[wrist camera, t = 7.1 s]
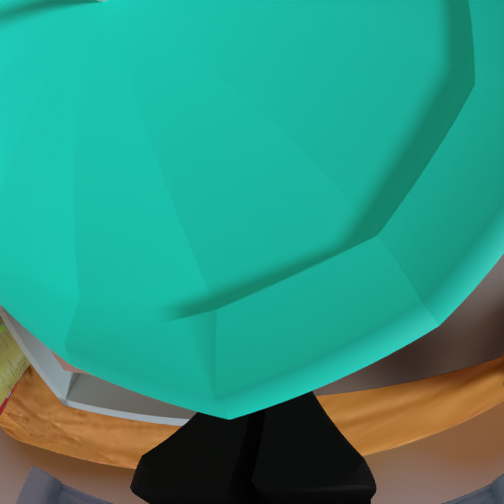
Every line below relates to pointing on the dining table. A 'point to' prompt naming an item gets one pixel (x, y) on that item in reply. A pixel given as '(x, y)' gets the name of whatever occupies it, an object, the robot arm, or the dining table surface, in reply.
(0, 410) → the soda can
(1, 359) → the sauce bottle
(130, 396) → the tray
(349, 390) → the grey slab
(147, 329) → the candle
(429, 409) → the dining table surface
